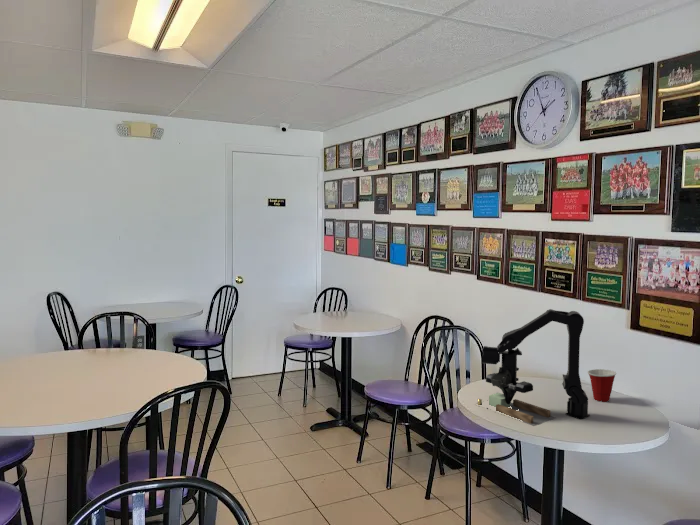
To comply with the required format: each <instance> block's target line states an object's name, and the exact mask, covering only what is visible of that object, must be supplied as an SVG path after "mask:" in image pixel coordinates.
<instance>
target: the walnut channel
mask: <svg viewBox="0 0 700 525" xmlns="http://www.w3.org/2000/svg"><path fill="white" fill-rule="evenodd" d="M512 403H513V406H515V407H518V408H521V409H524V410H527V411H530V412H533V413H536V414H539V415H542V416H545V417H550V416H551V412H552V411H551V410H550V409H547V408H544V407H540V406H538V405H536V404H535V405H534V404H531V403H529V402H525V401H522V400H519V399H512ZM496 411H499V412H501V413H504V414H506V415H509V416H511V417H514V418H517V419H520V420H522V421H525V422H528V423H530V424H531V423H533V416H531V415H528V414H525V413H522V412H519V411H516V410H514V409H511V408H508V407H505V406H502V405H499V404H498V405H496Z"/></svg>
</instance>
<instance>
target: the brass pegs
mask: <svg viewBox="0 0 700 525" xmlns="http://www.w3.org/2000/svg"><path fill="white" fill-rule="evenodd" d="M482 402H483V399H481V398H477V404H478V405H482Z"/></svg>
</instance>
